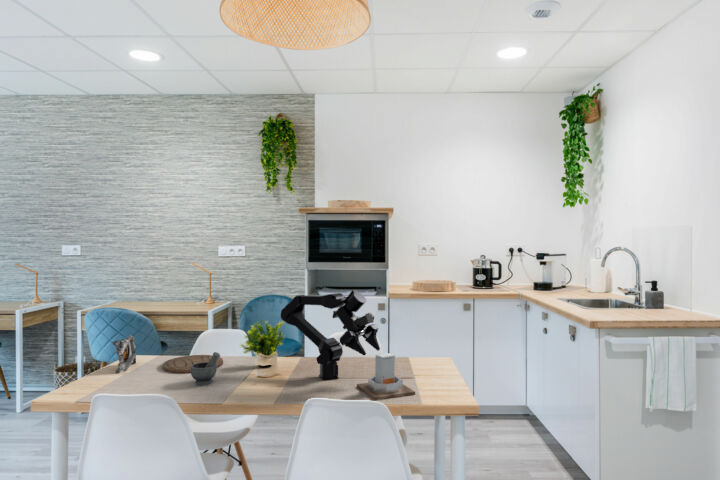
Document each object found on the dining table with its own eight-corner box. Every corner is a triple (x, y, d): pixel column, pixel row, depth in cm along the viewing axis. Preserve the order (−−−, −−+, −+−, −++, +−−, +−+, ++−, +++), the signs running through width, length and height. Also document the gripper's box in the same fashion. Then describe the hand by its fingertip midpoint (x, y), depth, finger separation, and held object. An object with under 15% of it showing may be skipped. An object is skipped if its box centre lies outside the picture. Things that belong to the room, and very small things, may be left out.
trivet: (215, 356, 217) (215, 352, 217) (229, 369, 195) (229, 364, 195) (158, 363, 204) (158, 359, 204) (167, 377, 182) (167, 373, 182)
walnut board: (374, 400, 156) (374, 397, 156) (356, 386, 171) (356, 384, 171) (415, 394, 162) (415, 391, 162) (394, 381, 177) (394, 379, 177)
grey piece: (126, 364, 201) (126, 334, 201) (136, 364, 201) (136, 334, 201) (111, 374, 186) (112, 342, 186) (122, 373, 186) (123, 341, 187)
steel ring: (377, 394, 159) (377, 386, 159) (364, 385, 170) (364, 377, 170) (407, 390, 164) (407, 382, 164) (392, 381, 174) (392, 373, 174)
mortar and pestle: (185, 386, 170) (185, 354, 170) (197, 379, 179) (197, 348, 179) (214, 387, 169) (214, 355, 169) (224, 380, 178) (224, 349, 178)
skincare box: (381, 390, 163) (381, 357, 163) (374, 387, 167) (375, 354, 167) (395, 387, 166) (395, 355, 167) (388, 384, 170) (388, 352, 170)
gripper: (346, 309, 166) (370, 343, 159) (374, 303, 181) (398, 335, 174) (329, 328, 170) (352, 362, 164) (358, 321, 186) (380, 352, 179)
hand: (372, 352), depth 170 cm, fingers open, 9 cm apart
